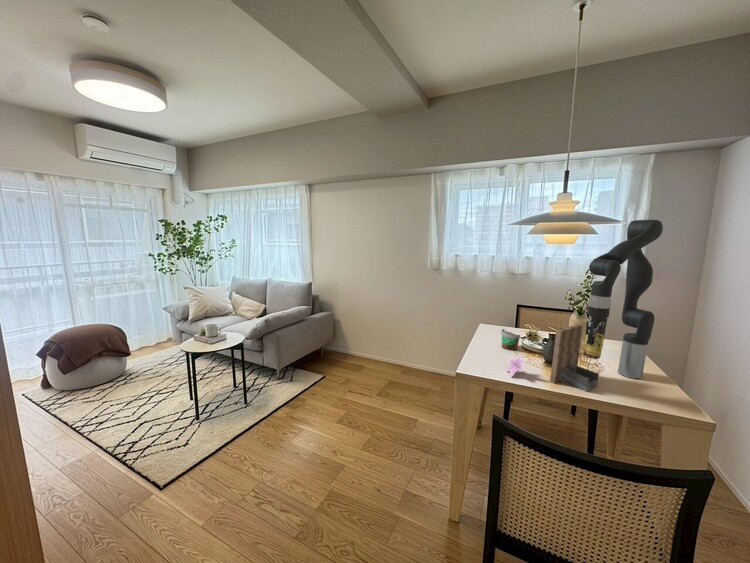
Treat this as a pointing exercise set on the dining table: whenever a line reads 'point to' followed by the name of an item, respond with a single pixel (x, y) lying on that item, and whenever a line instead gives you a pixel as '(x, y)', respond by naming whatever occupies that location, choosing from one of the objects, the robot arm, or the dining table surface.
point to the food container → (509, 340)
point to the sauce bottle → (595, 343)
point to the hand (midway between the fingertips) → (594, 342)
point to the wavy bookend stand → (571, 360)
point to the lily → (515, 365)
